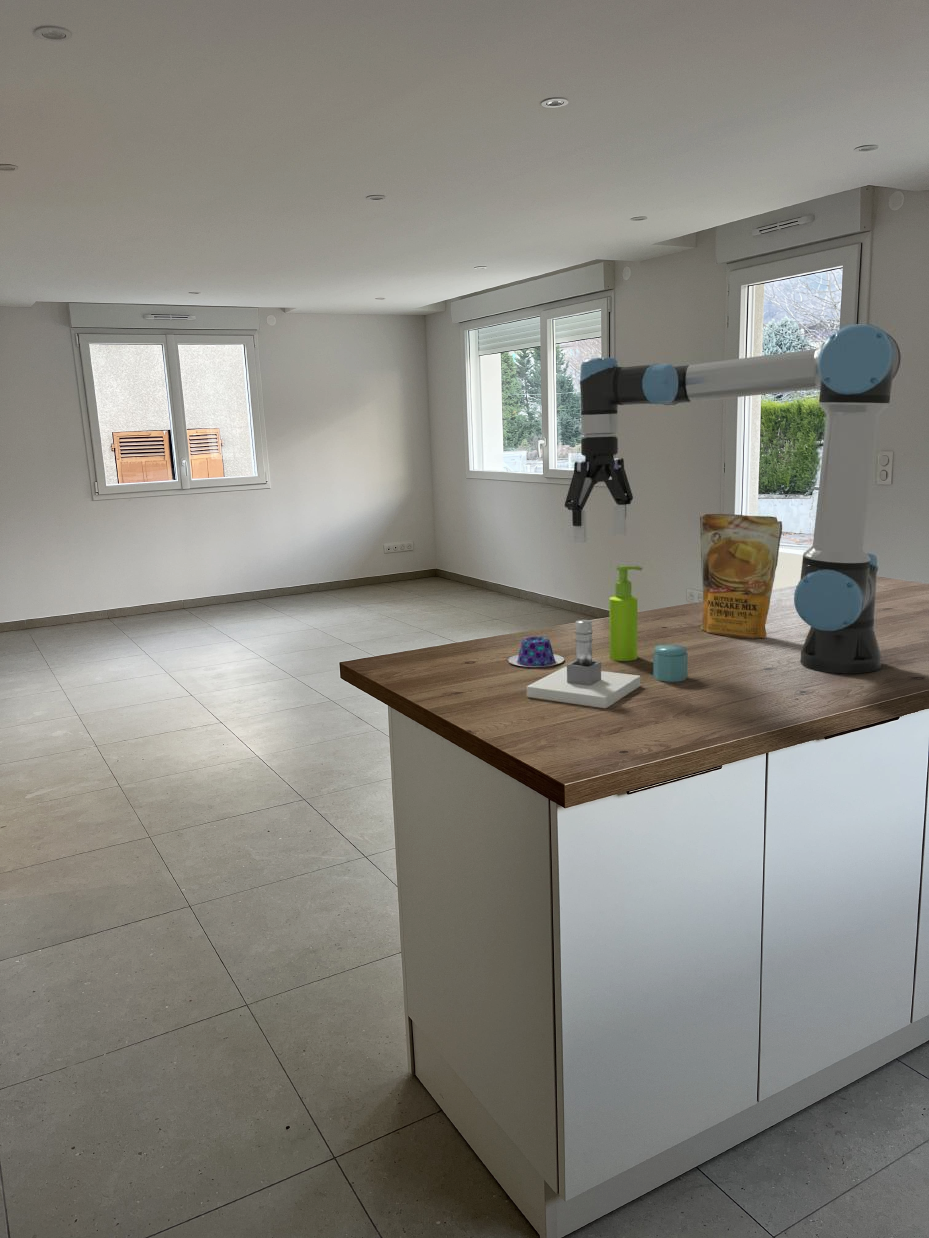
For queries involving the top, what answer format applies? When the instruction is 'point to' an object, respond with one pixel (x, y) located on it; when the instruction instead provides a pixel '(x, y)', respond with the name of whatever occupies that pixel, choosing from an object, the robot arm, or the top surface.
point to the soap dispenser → (623, 618)
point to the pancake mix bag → (738, 572)
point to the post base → (584, 685)
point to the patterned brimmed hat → (536, 653)
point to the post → (583, 642)
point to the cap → (670, 663)
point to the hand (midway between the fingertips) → (600, 538)
